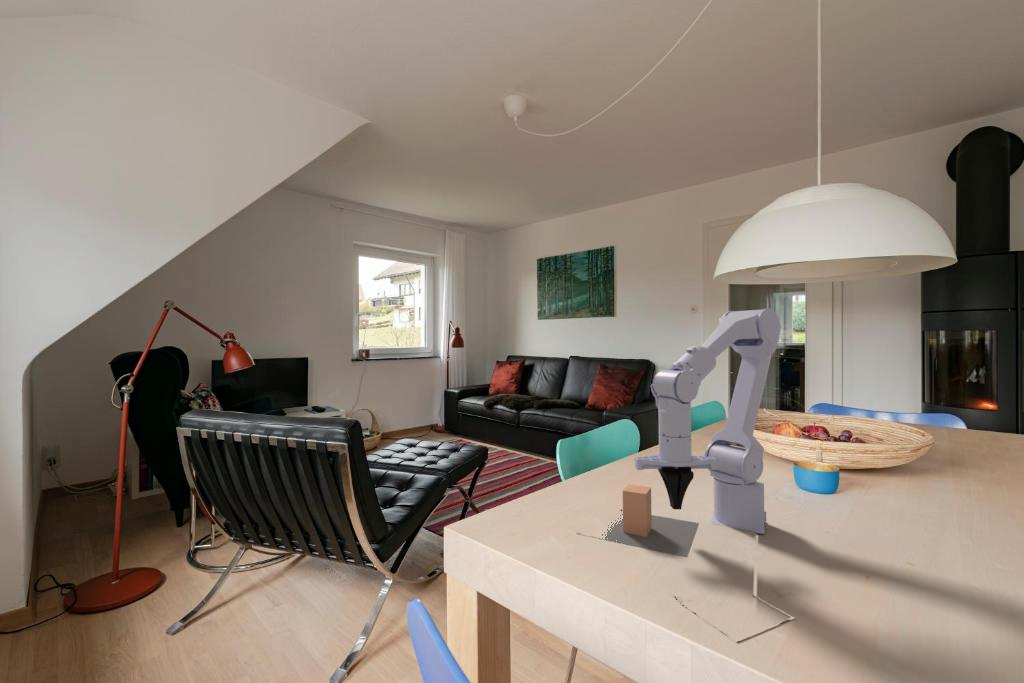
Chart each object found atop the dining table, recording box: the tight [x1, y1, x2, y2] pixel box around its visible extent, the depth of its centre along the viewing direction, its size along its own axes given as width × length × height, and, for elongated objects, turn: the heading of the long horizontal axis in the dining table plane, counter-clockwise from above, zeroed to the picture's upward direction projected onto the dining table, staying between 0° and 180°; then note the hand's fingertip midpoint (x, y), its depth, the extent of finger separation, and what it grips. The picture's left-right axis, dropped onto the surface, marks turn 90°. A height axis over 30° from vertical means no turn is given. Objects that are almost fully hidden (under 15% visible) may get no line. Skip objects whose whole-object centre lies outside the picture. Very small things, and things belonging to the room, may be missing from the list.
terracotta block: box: [622, 483, 652, 537], centre depth 87 cm, size 4×4×8 cm
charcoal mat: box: [598, 514, 699, 558], centre depth 88 cm, size 20×16×1 cm
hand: (675, 507), depth 84 cm, fingers closed
